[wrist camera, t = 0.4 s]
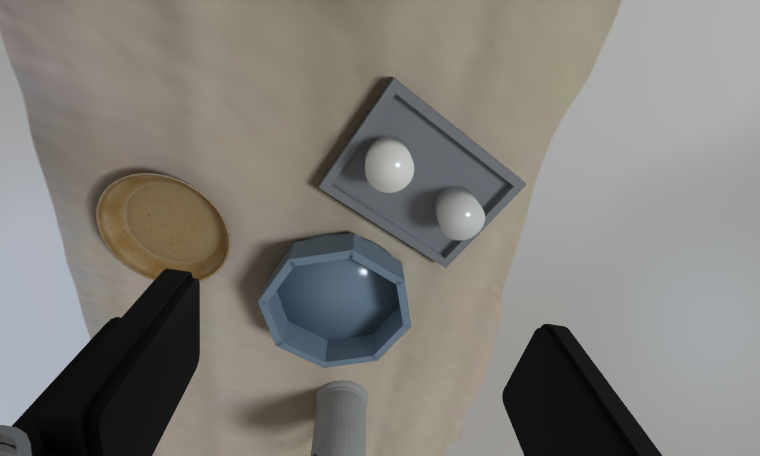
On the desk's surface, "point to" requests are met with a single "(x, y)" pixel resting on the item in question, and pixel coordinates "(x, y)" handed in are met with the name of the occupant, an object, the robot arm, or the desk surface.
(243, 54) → the desk surface
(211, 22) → the desk surface
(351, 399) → the glass holder
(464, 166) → the tray
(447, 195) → the pebble
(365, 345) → the bowl
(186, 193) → the plant saucer
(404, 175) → the pebble
